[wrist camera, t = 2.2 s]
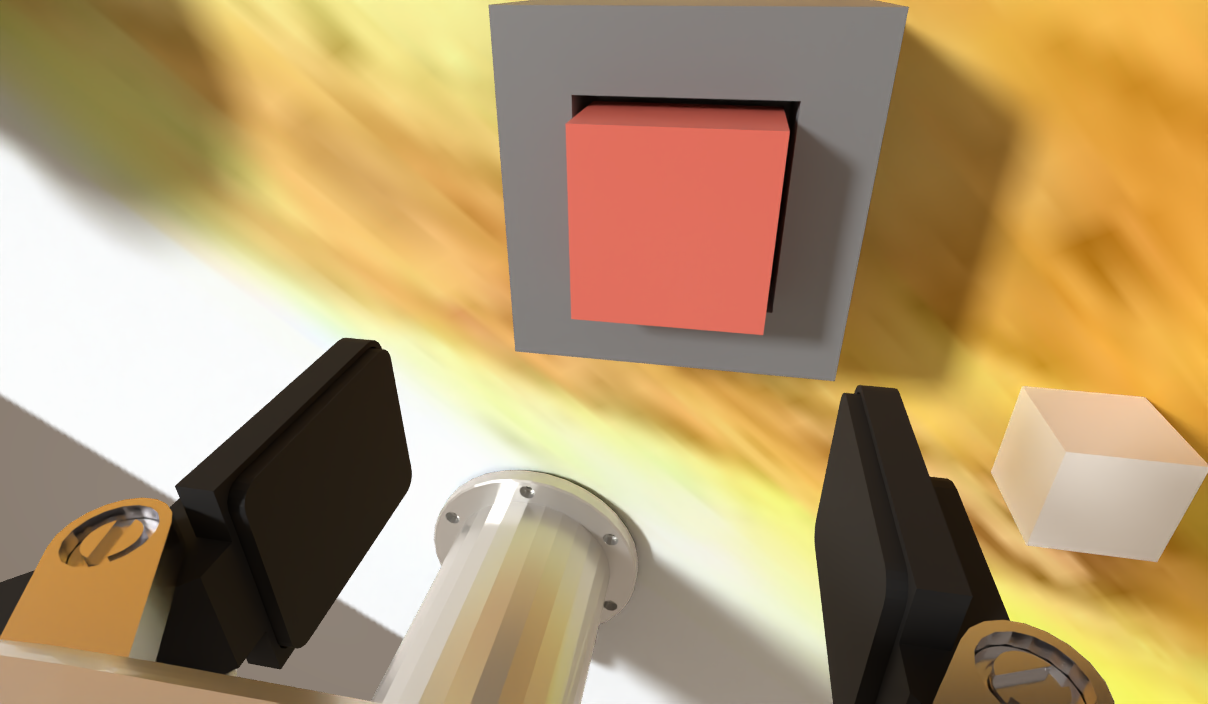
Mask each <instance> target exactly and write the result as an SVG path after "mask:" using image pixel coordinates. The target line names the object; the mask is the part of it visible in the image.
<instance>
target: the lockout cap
mask: <svg viewBox="0 0 1208 704" xmlns="http://www.w3.org/2000/svg"><path fill="white" fill-rule="evenodd" d="M991 473H992V475H993V478H994V480H995V482H996V484H997V486H998V488H999V490H1000V492H1001V494H1002V496H1003V498H1004V500H1005V502H1006V504H1007V506H1008V508H1009V510H1010V512H1011V515H1012V517H1013V519H1014V521H1015V523H1016V525H1017V527H1018V529H1019V531H1020V533H1021V535H1022V537H1023V539H1024V541H1025V543H1026V545H1028V546H1036V547H1044V548H1052V549H1060V550H1067V551H1075V552H1083V553H1091V554H1099V555H1106V556H1114V557H1122V558H1130V559H1137V560H1145V561H1153V562H1158V560H1159V558H1160V556H1161V554H1162V553H1163V551H1164V549H1165V547H1166V546H1167V544H1168V542H1169V540H1170V539H1171V537H1172V535H1173V533H1174V531H1175V530H1176V528H1177V526H1178V524H1179V523H1180V521H1181V519H1182V517H1183V516H1184V514H1185V512H1186V510H1187V508H1188V507H1189V505H1190V503H1191V501H1192V500H1193V498H1194V496H1195V494H1196V493H1197V491H1198V489H1199V487H1200V486H1201V484H1202V482H1203V480H1204V478H1205V477H1206V475H1207V473H1208V464H1207V463H1206V462H1205V461H1204V459H1203V458H1202V457H1201V456H1200V455H1199V454H1198V453H1197V452H1196V451H1195V450H1194V449H1193V448H1192V447H1191V446H1190V445H1189V444H1188V442H1187V441H1186V440H1185V439H1184V438H1183V437H1182V436H1181V435H1180V434H1179V433H1178V432H1177V431H1176V430H1175V429H1174V428H1173V427H1172V425H1171V424H1170V423H1169V422H1168V421H1167V420H1166V419H1165V418H1164V417H1163V416H1162V415H1161V414H1160V413H1159V412H1158V411H1157V410H1156V408H1155V407H1154V406H1153V405H1152V404H1151V403H1150V402H1149V401H1148V400H1147V399H1146V398H1145V397H1137V396H1126V395H1115V394H1104V393H1093V392H1082V391H1071V390H1060V389H1049V388H1039V387H1028V386H1022V388H1021V391H1020V393H1019V396H1018V399H1017V402H1016V404H1015V407H1014V410H1013V413H1012V415H1011V418H1010V421H1009V424H1008V427H1007V429H1006V432H1005V435H1004V438H1003V440H1002V443H1001V446H1000V449H999V451H998V454H997V457H996V460H995V462H994V465H993V468H992V471H991Z"/></svg>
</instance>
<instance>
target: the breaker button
mask: <svg viewBox="0 0 1208 704" xmlns="http://www.w3.org/2000/svg"><path fill="white" fill-rule="evenodd" d="M789 134H790V130H789V126H788V123H787V119H786V115H785V111H784V107H782V106H748V105H713V104H678V103H644V102H609V101H593V102H592V103H591V104H589V105H588V106H587V107H586V108H584V109H583V110H582V111H581V112H579V113H578V114H577V115H576V116H574V117H573V118H572V119H571V120H569V121H568V122H567V123H566V157H567V192H568V226H569V260H570V294H571V319H577V320H589V321H601V322H613V323H625V324H637V325H649V326H661V327H673V328H685V329H696V330H708V331H720V332H732V333H744V334H756V335H763V333H764V325H765V318H766V310H767V302H768V295H769V287H770V279H771V272H772V264H773V256H774V249H775V241H776V233H777V226H778V218H779V210H780V203H781V195H782V187H783V180H784V172H785V164H786V157H787V149H788V141H789Z"/></svg>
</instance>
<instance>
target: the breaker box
mask: <svg viewBox="0 0 1208 704" xmlns="http://www.w3.org/2000/svg"><path fill="white" fill-rule="evenodd" d="M908 8H909V7H906V6H901V5H896V4H891V3H886V2H880V1H875V0H529V1H520V2H511V3H502V4H492V5H489V16H490V29H491V41H492V54H493V67H494V80H495V93H496V106H497V119H498V132H499V145H500V158H501V171H502V184H503V197H504V210H505V223H506V236H507V249H508V262H509V275H510V288H511V301H512V313H513V326H514V339H515V351H518V352H529V353H539V354H550V355H561V356H572V357H582V358H593V359H604V360H615V361H625V362H636V363H647V364H657V365H668V366H679V367H690V368H700V369H711V370H722V371H733V372H743V373H754V374H765V375H775V376H786V377H797V378H808V379H818V380H829V381H835V377H836V372H837V367H838V362H839V357H840V352H841V347H842V342H843V337H844V332H845V327H846V322H847V317H848V312H849V306H850V301H851V296H852V291H853V286H854V281H855V276H856V271H857V266H858V261H859V256H860V251H861V246H862V241H863V236H864V231H865V226H866V220H867V215H868V210H869V205H870V200H871V195H872V190H873V185H874V180H875V175H876V170H877V165H878V160H879V155H880V150H881V145H882V139H883V134H884V129H885V124H886V119H887V114H888V109H889V104H890V99H891V94H892V89H893V84H894V79H895V74H896V69H897V64H898V59H899V53H900V48H901V43H902V38H903V33H904V28H905V23H906V18H907V13H908ZM593 101H609V102H644V103H678V104H713V105H748V106H782V107H784V111H785V115H786V119H787V123H788V126H789V130H790V134H789V141H788V149H787V157H786V164H785V172H784V180H783V187H782V195H781V203H780V210H779V218H778V226H777V233H776V241H775V249H774V256H773V264H772V272H771V279H770V287H769V295H768V302H767V310H766V318H765V325H764V333H763V335H756V334H744V333H732V332H720V331H708V330H696V329H685V328H673V327H661V326H649V325H637V324H625V323H613V322H601V321H589V320H577V319H571V294H570V260H569V226H568V192H567V157H566V123H567V122H568V121H569V120H571V119H572V118H573V117H574V116H576V115H577V114H578V113H579V112H581V111H582V110H583V109H584V108H586V107H587V106H588V105H589V104H591V103H592V102H593Z"/></svg>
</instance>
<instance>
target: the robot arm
mask: <svg viewBox="0 0 1208 704" xmlns="http://www.w3.org/2000/svg"><path fill="white" fill-rule="evenodd" d="M411 478H412V470H411V464H410V459H409V454H408V448H407V443H406V437H405V432H404V427H403V421H402V416H401V410H400V405H399V400H398V394H397V389H396V384H395V378H394V373H393V367H392V362H391V357H390V354H389V353H388V351H386V350H383V349H382V348H381V346H380V344H379V343H378V342H377V341H375V340H364V339H353V338H342V339H341V340H339V341H338V342H337V343H335V344H334V345H333V346H332V347H331V348H330V349H329V350H328V351H326V352H325V353H324V354H323V355H322V356H321V357H320V358H319V359H317V360H316V361H315V362H314V363H313V364H312V365H311V366H310V367H308V368H307V369H306V370H305V371H304V372H303V373H302V374H301V375H299V376H298V377H297V378H296V379H295V380H294V381H293V382H291V383H290V384H289V385H288V386H287V387H286V388H285V389H284V390H282V391H281V392H280V393H279V394H278V395H277V396H276V397H275V398H273V399H272V400H271V401H270V402H269V403H268V404H267V405H266V406H264V407H263V408H262V409H261V410H260V411H259V412H258V413H257V414H255V415H254V416H253V417H252V418H251V419H250V420H249V421H248V422H246V423H245V424H244V425H243V426H242V427H241V428H240V429H239V430H237V431H236V432H235V433H234V434H233V435H232V436H231V437H230V438H228V439H227V440H226V441H225V442H224V443H223V444H222V445H221V446H219V447H218V448H217V449H216V450H215V451H214V452H213V453H212V454H210V455H209V456H208V457H207V458H206V459H205V460H204V461H203V462H201V463H200V464H199V465H198V466H197V467H196V468H195V469H194V470H192V471H191V472H190V473H189V474H188V475H187V476H186V477H185V478H183V479H182V480H181V481H180V482H179V483H178V484H177V485H176V486H175V487H176V490H177V492H178V495H179V497H180V498H179V499H178V500H177V501H176V502H175V503H174V504H173V505H172V506H171V507H170V508H169V506H168V505H167V504H166V503H164V502H162V501H159V500H158V499H150V498H136V499H126V500H122V501H118V502H115V503H111V504H107V505H105V506H102V507H100V508H98V509H95V510H93V511H90V512H88V513H86V514H85V515H83V516H81V517H80V518H78V519H76V520H75V521H73V522H71V523H70V524H69V525H68V526H66V527H65V528H64V529H63V530H62V531H60V533H58V534H57V535H56V536H55V537H54V539H53V540H52V541H51V543H50V544H49V545H48V547H47V548H46V550H45V552H44V554H43V556H42V558H41V560H40V562H39V563H38V565H37V567H36V569H35V570H34V571H32V572H29V573H26V574H23V575H20V576H17V577H14V578H12V579H9V580H6V581H3V582H0V704H581V701H582V697H583V692H584V688H585V684H586V679H587V675H588V671H589V666H590V662H591V658H592V653H593V649H594V645H595V641H596V636H597V632H598V628H599V625H600V624H602V623H605V622H607V621H608V620H610V619H611V618H613V617H614V616H615V615H617V614H618V613H619V612H620V611H621V610H622V609H623V608H624V607H625V605H626V604H627V603H628V602H629V600H630V597H631V595H632V593H633V591H634V588H635V583H636V578H637V573H638V556H637V552H636V547H635V543H634V541H633V539H632V537H631V535H630V533H629V531H628V529H627V527H626V526H625V525H624V523H623V522H622V521H621V519H620V518H619V517H618V515H617V514H616V513H615V512H614V511H613V510H612V509H611V508H610V507H608V506H607V505H606V504H605V503H604V502H603V501H602V500H600V499H599V498H598V497H596V496H595V495H593V494H592V493H590V492H589V491H587V490H586V489H584V488H582V487H580V486H578V485H576V484H573V483H571V482H569V481H567V480H565V479H561V478H558V477H555V476H552V475H549V474H545V473H539V472H532V471H526V470H505V471H499V472H493V473H487V474H484V475H482V476H479V477H476V478H474V479H471V480H470V481H468V482H467V483H465V484H463V485H462V486H460V487H459V488H458V489H457V490H456V491H455V492H454V493H453V494H452V495H451V496H450V497H449V498H448V500H447V502H446V503H445V505H444V507H443V508H442V510H441V512H440V514H439V516H438V519H437V522H436V525H435V533H434V543H435V548H436V554H437V556H438V559H439V561H440V564H441V568H440V570H439V572H438V574H437V576H436V578H435V579H434V581H433V583H432V585H431V587H430V589H429V591H428V593H427V595H426V597H425V599H424V601H423V602H422V604H421V606H420V608H419V610H418V612H417V614H416V616H415V618H414V620H413V622H412V624H411V625H410V627H409V629H408V631H407V633H406V635H405V637H404V639H403V641H402V643H401V645H400V647H399V649H398V651H397V652H396V655H395V656H394V658H393V660H392V662H391V664H390V666H389V668H388V670H387V672H386V674H385V675H384V677H383V679H382V681H381V683H380V685H379V687H378V689H377V691H376V693H375V695H374V696H373V698H372V701H366V700H360V699H355V698H350V697H344V696H339V695H334V694H328V693H323V692H317V691H312V690H307V689H301V688H295V687H290V686H284V685H279V684H274V683H268V682H263V681H257V680H251V679H246V678H241V677H236V675H237V668H239V667H240V665H241V664H242V663H243V661H244V660H245V659H247V661H248V663H250V664H255V665H260V666H265V667H271V668H277V669H281V668H282V667H283V665H284V664H285V662H286V661H287V659H288V658H289V656H290V655H291V653H292V652H293V650H294V649H295V648H301V647H302V646H304V645H305V644H306V643H307V642H308V640H309V639H310V637H311V636H312V635H313V633H314V632H315V630H316V629H317V627H318V626H319V624H320V623H321V621H322V620H323V618H324V616H325V615H326V614H327V612H328V610H329V609H330V608H331V606H332V604H333V603H334V601H335V600H336V598H337V597H338V595H339V594H340V592H341V591H342V589H343V588H344V586H345V585H346V583H347V582H348V580H349V579H350V577H351V576H352V574H353V573H354V571H355V570H356V568H357V567H358V565H359V564H360V562H361V561H362V559H363V558H364V556H365V555H366V553H367V552H368V550H369V549H370V547H371V546H372V544H373V543H374V541H375V540H376V538H377V537H378V535H379V534H380V532H381V531H382V529H383V528H384V526H385V525H386V523H387V522H388V520H389V519H390V517H391V516H392V514H393V512H394V511H395V509H396V508H397V506H398V505H399V503H400V502H401V500H402V499H403V497H404V496H405V494H406V493H407V491H408V489H409V487H410V484H411ZM815 551H816V560H817V568H818V577H819V586H820V594H821V603H822V612H823V620H824V629H825V638H826V646H827V655H828V664H829V672H830V681H831V689H832V698H833V704H1114V700H1113V698H1112V695H1111V693H1110V691H1109V689H1108V687H1107V684H1106V682H1105V681H1104V679H1103V678H1102V677H1101V676H1100V674H1099V673H1098V672H1097V671H1096V669H1095V668H1094V667H1093V666H1092V665H1091V663H1090V662H1089V661H1088V660H1086V659H1085V658H1084V657H1083V656H1082V655H1080V654H1079V653H1078V652H1077V651H1076V650H1075V649H1073V648H1072V647H1071V646H1070V645H1068V644H1067V643H1065V642H1063V641H1061V640H1060V639H1058V638H1056V637H1055V636H1053V635H1051V634H1050V633H1048V632H1046V631H1043V630H1040V629H1038V628H1035V627H1032V626H1030V625H1027V624H1024V623H1019V622H1013V621H1010V619H1009V617H1008V614H1007V612H1006V609H1005V607H1004V605H1003V602H1002V600H1001V597H1000V595H999V592H998V590H997V587H996V585H995V582H994V580H993V577H992V575H991V572H990V570H989V567H988V565H987V563H986V560H985V558H984V555H983V553H982V550H981V548H980V545H979V543H978V540H977V538H976V535H975V533H974V530H973V528H972V525H971V523H970V521H969V518H968V516H967V513H966V511H965V508H964V506H963V503H962V501H961V498H960V496H959V493H958V491H957V489H956V487H955V485H954V483H953V482H952V481H951V480H949V479H945V478H936V477H929V474H928V471H927V468H926V465H925V463H924V460H923V457H922V454H921V452H920V449H919V446H918V443H917V440H916V438H915V435H914V432H913V429H912V427H911V424H910V421H909V418H908V415H907V413H906V410H905V407H904V404H903V402H902V399H901V396H900V393H899V391H898V390H897V389H895V388H885V387H874V386H863V385H858V386H857V388H856V390H855V393H854V394H850V393H843V395H842V397H841V401H840V405H839V410H838V415H837V420H836V425H835V430H834V435H833V440H832V445H831V449H830V454H829V459H828V464H827V469H826V474H825V479H824V484H823V489H822V494H821V499H820V503H819V508H818V513H817V518H816V524H815Z"/></svg>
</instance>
